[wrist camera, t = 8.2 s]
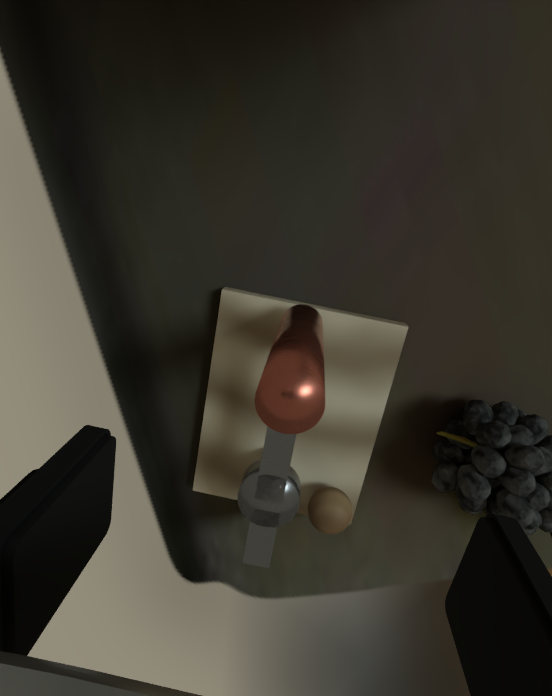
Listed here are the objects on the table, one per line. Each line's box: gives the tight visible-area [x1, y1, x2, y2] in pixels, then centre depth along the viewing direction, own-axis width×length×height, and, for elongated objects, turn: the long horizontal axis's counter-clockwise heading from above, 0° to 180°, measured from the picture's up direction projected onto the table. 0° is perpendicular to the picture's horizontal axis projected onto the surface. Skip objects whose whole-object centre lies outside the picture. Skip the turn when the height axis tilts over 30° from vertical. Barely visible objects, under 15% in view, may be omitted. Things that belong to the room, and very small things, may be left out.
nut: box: [308, 487, 352, 534], centre depth 35 cm, size 4×4×4 cm
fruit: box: [432, 400, 552, 536], centre depth 32 cm, size 9×8×15 cm
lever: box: [237, 304, 325, 568], centre depth 27 cm, size 19×4×14 cm, turn 170°
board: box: [193, 287, 408, 525], centre depth 34 cm, size 18×14×5 cm
